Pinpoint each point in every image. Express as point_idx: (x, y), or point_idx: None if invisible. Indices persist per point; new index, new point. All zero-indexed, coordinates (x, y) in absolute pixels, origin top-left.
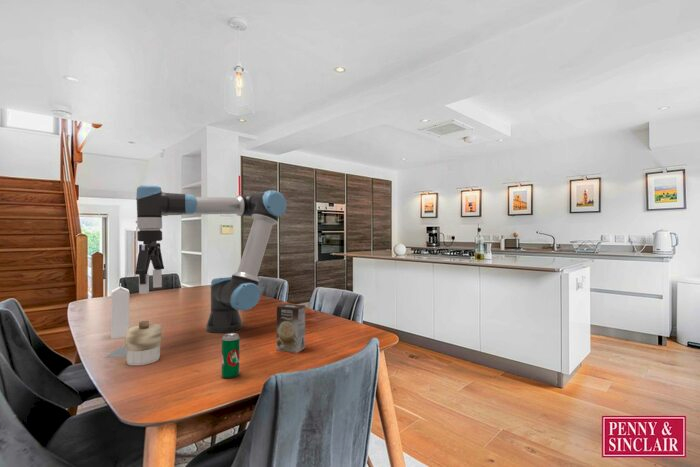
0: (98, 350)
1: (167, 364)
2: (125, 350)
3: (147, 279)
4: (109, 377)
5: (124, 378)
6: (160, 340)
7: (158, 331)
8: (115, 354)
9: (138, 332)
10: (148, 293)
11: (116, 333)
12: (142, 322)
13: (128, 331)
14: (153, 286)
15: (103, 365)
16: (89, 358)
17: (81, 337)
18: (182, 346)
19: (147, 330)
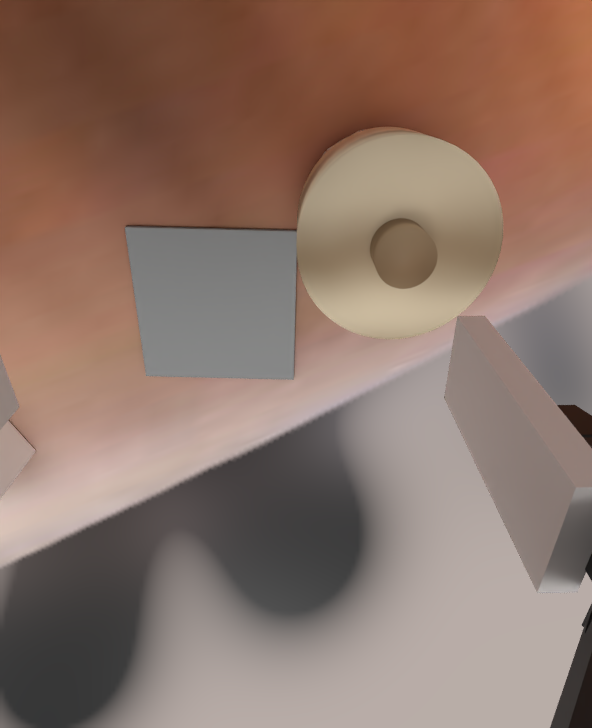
0: (180, 437)
1: (454, 55)
2: (208, 336)
3: (564, 426)
4: (529, 270)
5: (569, 206)
6: (388, 128)
7: (433, 137)
8: (260, 354)
9: (501, 242)
10: (479, 316)
11: (11, 453)
12: (420, 264)
13: (460, 308)
14: (10, 411)
15: (374, 347)
16: (276, 426)
17: (10, 552)
18: (147, 60)
19: (479, 199)
